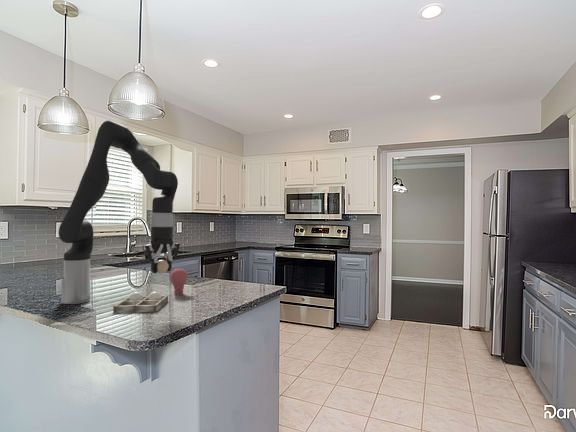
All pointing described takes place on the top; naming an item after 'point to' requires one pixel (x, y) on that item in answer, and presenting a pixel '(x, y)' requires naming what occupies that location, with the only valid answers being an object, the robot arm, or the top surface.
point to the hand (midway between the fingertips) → (161, 271)
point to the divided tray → (140, 305)
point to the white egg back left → (136, 296)
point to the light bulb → (178, 280)
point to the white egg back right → (154, 296)
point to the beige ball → (162, 266)
